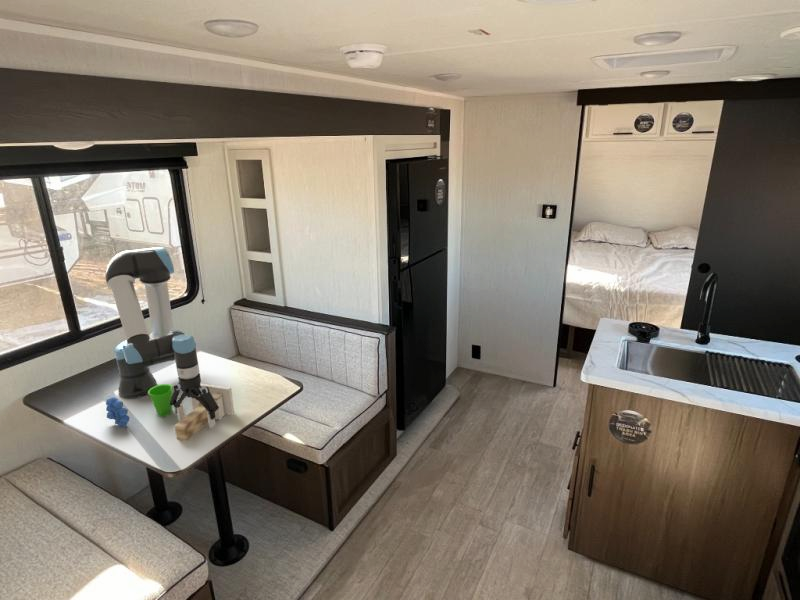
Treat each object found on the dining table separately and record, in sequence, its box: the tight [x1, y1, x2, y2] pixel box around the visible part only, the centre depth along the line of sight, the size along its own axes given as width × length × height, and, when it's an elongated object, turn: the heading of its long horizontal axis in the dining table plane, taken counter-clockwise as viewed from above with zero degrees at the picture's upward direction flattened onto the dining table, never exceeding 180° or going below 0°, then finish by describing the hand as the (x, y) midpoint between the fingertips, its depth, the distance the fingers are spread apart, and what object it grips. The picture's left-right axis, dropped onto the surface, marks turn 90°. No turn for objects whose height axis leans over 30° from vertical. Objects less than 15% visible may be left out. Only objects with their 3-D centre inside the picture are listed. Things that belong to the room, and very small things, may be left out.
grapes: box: [105, 396, 131, 427], centre depth 179 cm, size 12×7×12 cm, turn 63°
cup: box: [147, 383, 174, 417], centre depth 187 cm, size 9×9×11 cm
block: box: [174, 404, 211, 442], centre depth 179 cm, size 18×4×6 cm, turn 166°
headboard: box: [191, 382, 235, 420], centre depth 187 cm, size 18×6×12 cm, turn 76°
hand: (197, 423), depth 180 cm, fingers open, 13 cm apart
